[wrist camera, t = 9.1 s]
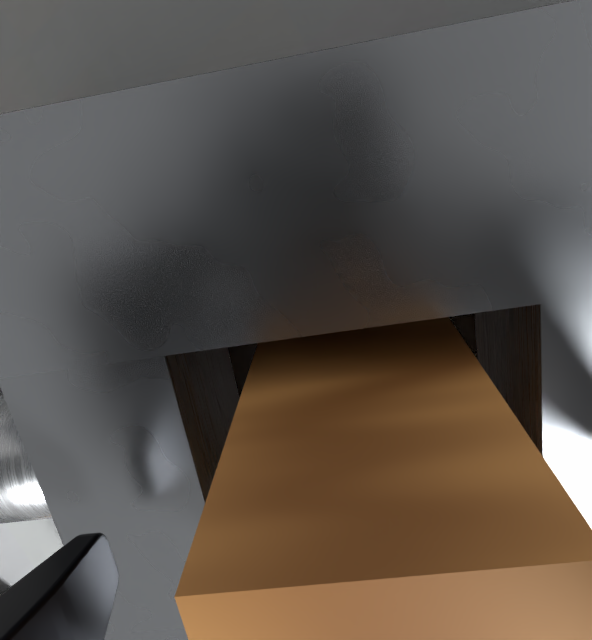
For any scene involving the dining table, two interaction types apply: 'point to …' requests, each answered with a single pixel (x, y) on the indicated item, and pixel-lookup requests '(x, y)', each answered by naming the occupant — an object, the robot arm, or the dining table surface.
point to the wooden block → (383, 503)
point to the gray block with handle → (284, 262)
